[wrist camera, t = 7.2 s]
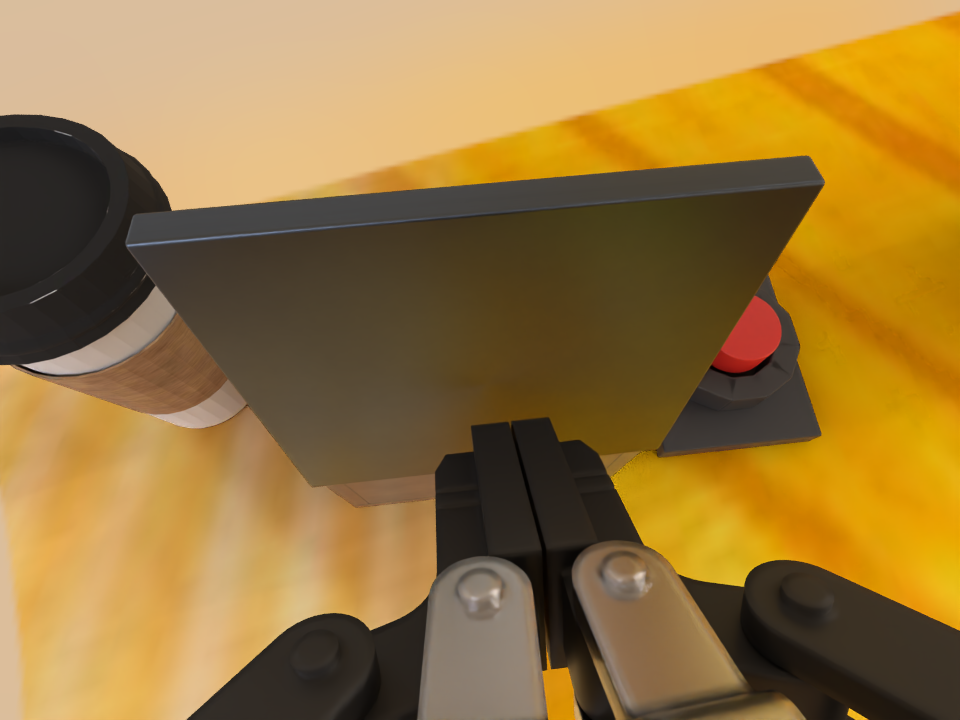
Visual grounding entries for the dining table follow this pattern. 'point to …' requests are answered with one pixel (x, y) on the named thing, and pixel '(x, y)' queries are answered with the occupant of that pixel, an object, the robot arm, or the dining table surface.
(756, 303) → the button
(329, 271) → the lid
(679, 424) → the block
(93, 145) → the coffee cup
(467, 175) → the dining table surface
